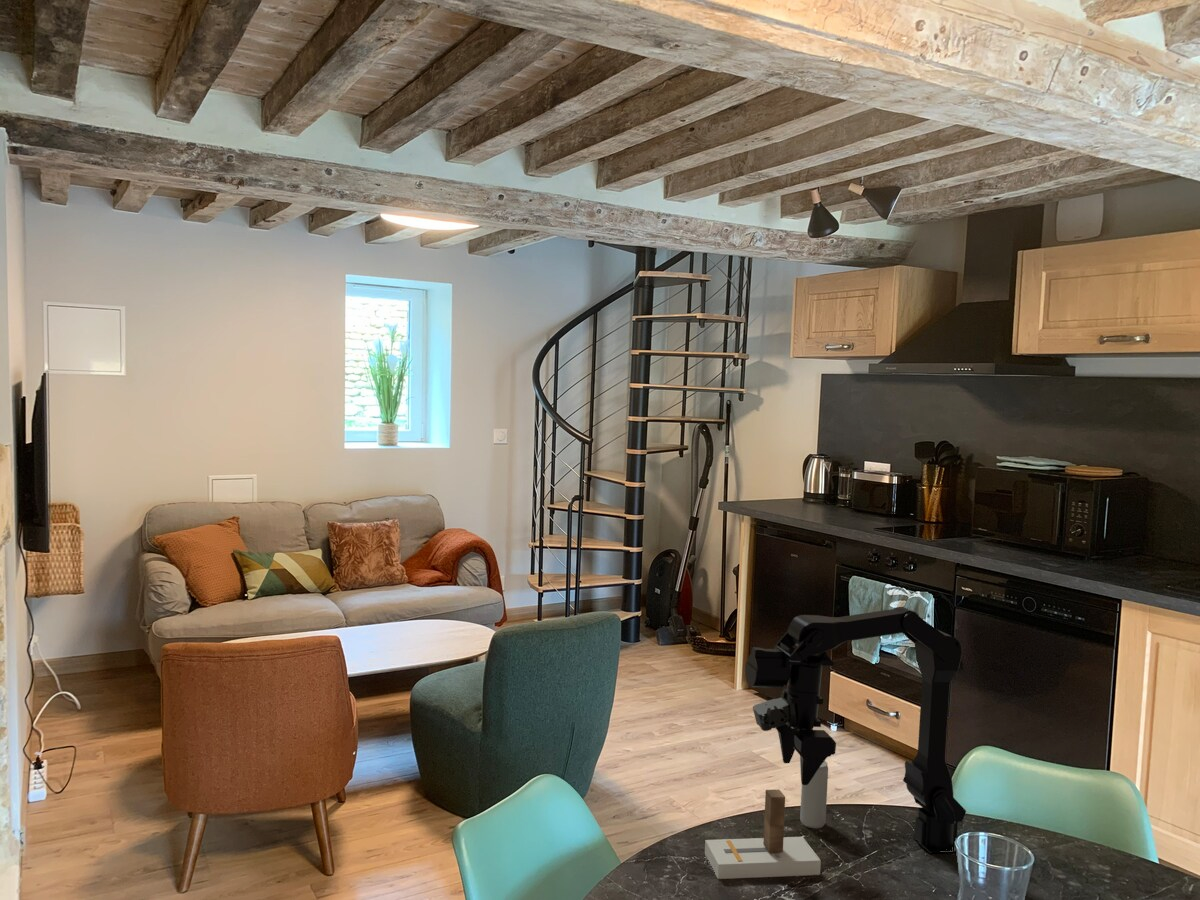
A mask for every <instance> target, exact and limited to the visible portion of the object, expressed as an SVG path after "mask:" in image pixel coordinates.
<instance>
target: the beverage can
mask: <svg viewBox="0 0 1200 900" xmlns="http://www.w3.org/2000/svg"><path fill="white" fill-rule="evenodd" d="M828 765H829V764H828V762H827V761H826V760H825V761H824V762H823V763H822V765H821V766H820V767H819V769H818V770H817V772H816V773H815V775H814V776H813V778H812V779H811V781H810V782H809V784H808V785H802V784H801V789H800V791H801V792H800V794H801V795H800V816H799V818H800V819H799V820H800V822H801V824H802V825H803V826H804V827H805V828H806V827H807V828H810V829H816V830H817V829H821V828H823V827H824V826H825V825H826V820H827V817H826V816H827V803H828V802H827V800H828V799H827V798H828V779H829V766H828Z"/></svg>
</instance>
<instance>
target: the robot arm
mask: <svg viewBox="0 0 1200 900" xmlns="http://www.w3.org/2000/svg"><path fill="white" fill-rule="evenodd" d="M896 634H897V635H898V634H903V635H904V637H906V638H907V639H908V640H909V641H910V642H912V643H913V644H914V650H915V660H916V663H917V666H918V669H919V672H920V675H921V693H920V694H921V695H920V708H919V710H920V711H919V727H918V728H919V729H918V742H917V753H916V755H915V757H914V758H913V760H912V761H909V760H905V762H904V769H905V770H904V771H905V773H904V777H903V780H902V782H904V783H905V785H906V789H907V791H908V793H909V794H910V795H911V796H913V799H914V803H916V804H917V805H919V807H921V808H918V814H917V816H916V817H915V826H914V827H915V828H914V834H913V833H912V838H913V839H914V840H915V841H916V840H917V841H918V842H917V841H916V842H917V843H918V844H919V845H920V846H921V847H922V848H923V849H924V848H925V849H926V850H927V851H928V852H927V851H926V850H925V849H924V850H925V851H926V852H927V853H929V852H931V853H930V854H933V853H932V852H940V851H950V850H951V851H952V847H953V851H954V841H955V838H956V837H957V838H958V832H959V831H958V829H959V823H961V822H963V821H964V818H965V815H966V813H967V810H966V809H965V808H964V807H963V806H962V805H961V804H960V803H959V801H958V800H956V798H955V797H954V786H953V779H952V775H951V773H950V769H949V766H948V764H947V760H946V757H947V756H946V755H947V740H948V739H947V737H948V725H949V709H950V708H949V706H950V693H951V692H950V691H951V682H952V681H953V679H955V676H956V675H957V673H958V672H959V669H960V666H961V662H962V657H963V656H962V655H963V645H962V643H960V641H959V640H958V639H957V638H955V637H954V636H952V635H950V634H948V633H946V632H945V631H941V630H939V629H937V628H936V627H934V626H933V625H931V624H930V623H928V621H926V620H924V619H923V618H922V617H920V616H919V614H918V613H917V612H915V611H913V610H911V609H909V608H906V607H904V606H897V607H895V608H890V609H884V610H879V611H878V610H877V611H870V612H864V613H858V614H852V615H851V614H850V615H845V616H839V617H837V616H836V617H835V616H834V617H832V616H827V615H826V616H824V615H818V614H817V615H816V614H812V615H811V614H799V615H797V616H795V617H793V619H792V621H791V622H790V623H789V625H788V627H787V631H786V632H785V633H784V634H783V635H782V636H781V638H780V639H779V640H778V641H777V642H776V644H775V645H774V648H762V647H758V646H757V647H756V646H753V647H752V648H751V653H750V654H749V655H748V657H747V660H746V661H747V662H745V668H744V669H745V671H744V672H745V680H746V682H747V685H748V687H750V688H767V689H768V688H771V689H773V688H774V689H775V688H776V689H782V690H781V692H780V697H779V698H773V699H769V700H766V701H763V702H759V703H757V704H754V705H753V706H752V711H753V713H754V718H755V721H756V725H757V726H759V728H760V729H761V730H762V731H763V732H766V731H767V732H768V731H771V730H772V729H776V731H777V734H778V739H779V745H780V746H779V747H780V750H781V757H782V762H783V763H784V764H790V763H791V760H792V758H793V756H794V753H795V751H796V753H798V755H799V759H800V760H799V763H800V781H801V782H800V783H801V786H802V785H808V784H809V782H810V781H811V779H812V778H813V776H814V775H815V773H816V772H817V770H818V769H819V767H820V766H821V765H822V763H823V762H824V761H826V760H827V758H828V757H831V756H832V755H833V756H834V755H836V750H837V741H835V740H834V737H832V736H831V735H830V734H829V733H828V732H827V731H826V730H824V729H814V728H821V727H822V720H820V719H819V718H818V712H819V705H823V704H824V698H823V697H822V696H821V694H820V693H821V686H822V685H821V684H822V675H823V674H822V673H823V667H834V666H835V662H834V661H833V660H832V658H831V657H830V656H829V654H828V651H833V650H834V649H835V648H837V647H839V646H840V645H842V644H844V643H847V642H850V641H858V640H863V639H864V640H865V639H871V638H872V639H873V638H876V637H884V636H891V635H896ZM794 646H796V648H794ZM784 686H787V687H786V688H783V687H784ZM946 849H947V850H946Z"/></svg>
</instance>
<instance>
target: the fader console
mask: <svg viewBox="0 0 1200 900" xmlns="http://www.w3.org/2000/svg"><path fill="white" fill-rule="evenodd" d="M763 841H764V837H754V838H752V837H751V838H729V839H728V838H727V839H705V840H704V842H705V843H704V855H705V857H706V859H707V861H708V860H709V861H708V863H709V862H710V863H709V865H710V864H711V865H710V867H711V866H712V867H711V869H712V868H713V869H712V871H713V870H714V871H713V873H714V872H715V873H714V874H715V877H716V878H717V879H718V880H726V879H731V880H732V879H752V878H768V877H769V878H773V877H775V878H777V877H794V876H795V877H797V876H801V877H802V876H819V875H821V866H822V865H821V864H822V862H821V859H820V857H819V856H818V855H817V853H816V852H815V851H814V850H813V849H812V847H811V846H810V845H809V843H808V842H807V840H806V839H805V838H804V837H803V836H787V837H786V836H784V837H783V852H768V850H767V849H766V847H765V846H764V844H763Z"/></svg>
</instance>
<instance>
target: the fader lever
mask: <svg viewBox="0 0 1200 900" xmlns="http://www.w3.org/2000/svg"><path fill="white" fill-rule="evenodd" d="M785 811H786V796H785V794H784V793H783V792H782V791H781V790H780V789H765V796H764V820H763V822H764V824H763V838H764V841H763V844H764V846H765V847H766V849H767V850H768V852H783V837H785V835H784V834H785V833H784V832H785V831H784V829H785Z"/></svg>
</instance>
